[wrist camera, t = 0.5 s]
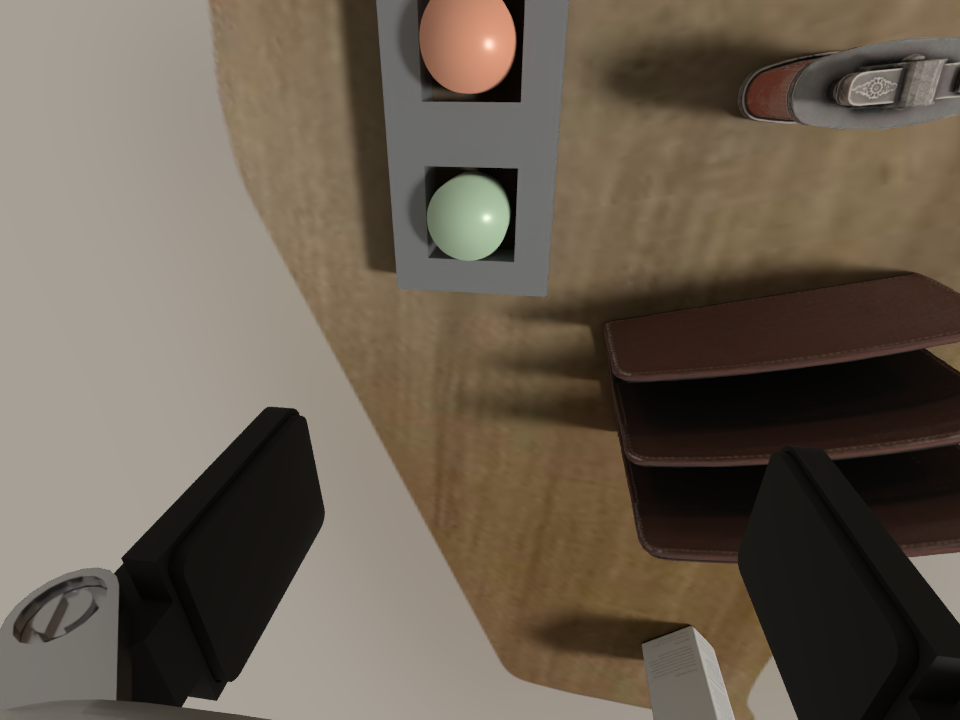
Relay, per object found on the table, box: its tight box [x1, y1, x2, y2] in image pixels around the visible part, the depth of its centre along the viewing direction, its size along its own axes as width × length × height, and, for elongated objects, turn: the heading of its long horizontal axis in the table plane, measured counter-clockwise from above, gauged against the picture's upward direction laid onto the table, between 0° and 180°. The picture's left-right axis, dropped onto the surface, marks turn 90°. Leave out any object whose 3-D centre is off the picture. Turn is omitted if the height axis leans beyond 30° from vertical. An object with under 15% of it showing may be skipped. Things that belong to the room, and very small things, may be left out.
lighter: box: [738, 37, 960, 129], centre depth 23 cm, size 8×3×10 cm, turn 95°
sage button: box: [427, 171, 511, 261], centre depth 30 cm, size 5×5×3 cm
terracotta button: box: [419, 0, 518, 94], centre depth 26 cm, size 5×5×3 cm
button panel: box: [376, 0, 569, 297], centre depth 27 cm, size 28×10×3 cm, turn 0°
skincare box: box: [642, 626, 735, 720], centre depth 45 cm, size 6×4×12 cm
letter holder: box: [603, 273, 960, 564], centre depth 29 cm, size 10×20×14 cm, turn 103°
